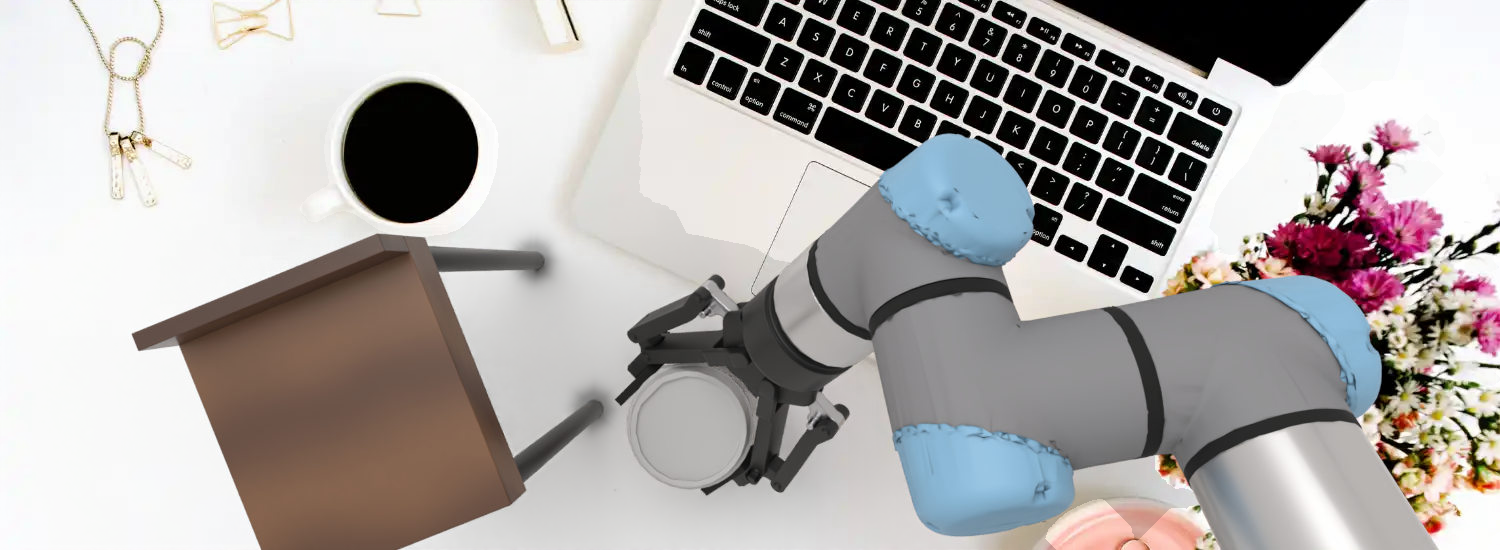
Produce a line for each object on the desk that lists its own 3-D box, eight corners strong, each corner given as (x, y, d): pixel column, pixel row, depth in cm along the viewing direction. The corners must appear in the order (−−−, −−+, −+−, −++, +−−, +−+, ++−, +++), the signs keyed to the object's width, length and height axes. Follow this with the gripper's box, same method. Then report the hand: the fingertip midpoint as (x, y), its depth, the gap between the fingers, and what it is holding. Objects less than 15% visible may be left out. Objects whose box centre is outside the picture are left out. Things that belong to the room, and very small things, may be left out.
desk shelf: (527, 490, 50) (493, 521, 44) (308, 577, 50) (245, 619, 44) (425, 236, 50) (377, 232, 44) (207, 325, 50) (130, 333, 44)
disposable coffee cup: (739, 335, 74) (732, 349, 62) (769, 440, 74) (768, 474, 62) (635, 364, 75) (608, 384, 63) (664, 469, 75) (643, 508, 63)
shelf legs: (606, 413, 75) (522, 488, 50) (464, 470, 75) (310, 572, 50) (540, 248, 75) (423, 241, 50) (398, 306, 75) (211, 327, 50)
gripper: (962, 406, 56) (785, 503, 73) (731, 166, 57) (607, 316, 73) (917, 481, 51) (738, 567, 68) (664, 217, 52) (546, 366, 68)
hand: (670, 437), depth 70 cm, fingers closed on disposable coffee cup, 9 cm apart
